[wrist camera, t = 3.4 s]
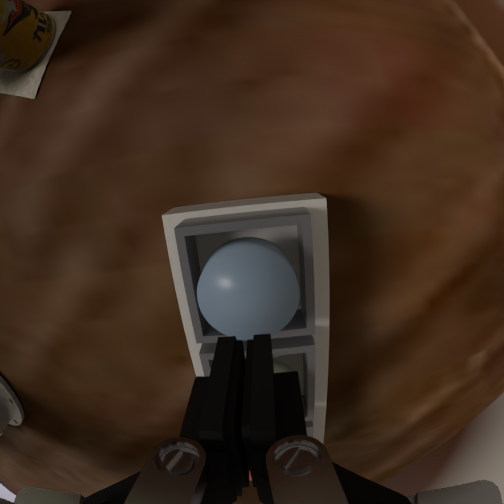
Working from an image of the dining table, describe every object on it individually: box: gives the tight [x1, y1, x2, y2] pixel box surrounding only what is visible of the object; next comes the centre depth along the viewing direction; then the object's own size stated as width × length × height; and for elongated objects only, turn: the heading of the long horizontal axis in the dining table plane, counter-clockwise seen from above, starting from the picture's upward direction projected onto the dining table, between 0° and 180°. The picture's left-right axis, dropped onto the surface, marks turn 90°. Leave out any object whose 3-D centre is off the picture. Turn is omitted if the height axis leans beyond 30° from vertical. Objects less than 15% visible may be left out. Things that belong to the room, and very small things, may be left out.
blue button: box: [197, 237, 300, 340], centre depth 16 cm, size 5×5×2 cm
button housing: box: [162, 193, 330, 443], centre depth 22 cm, size 24×10×6 cm, turn 6°
